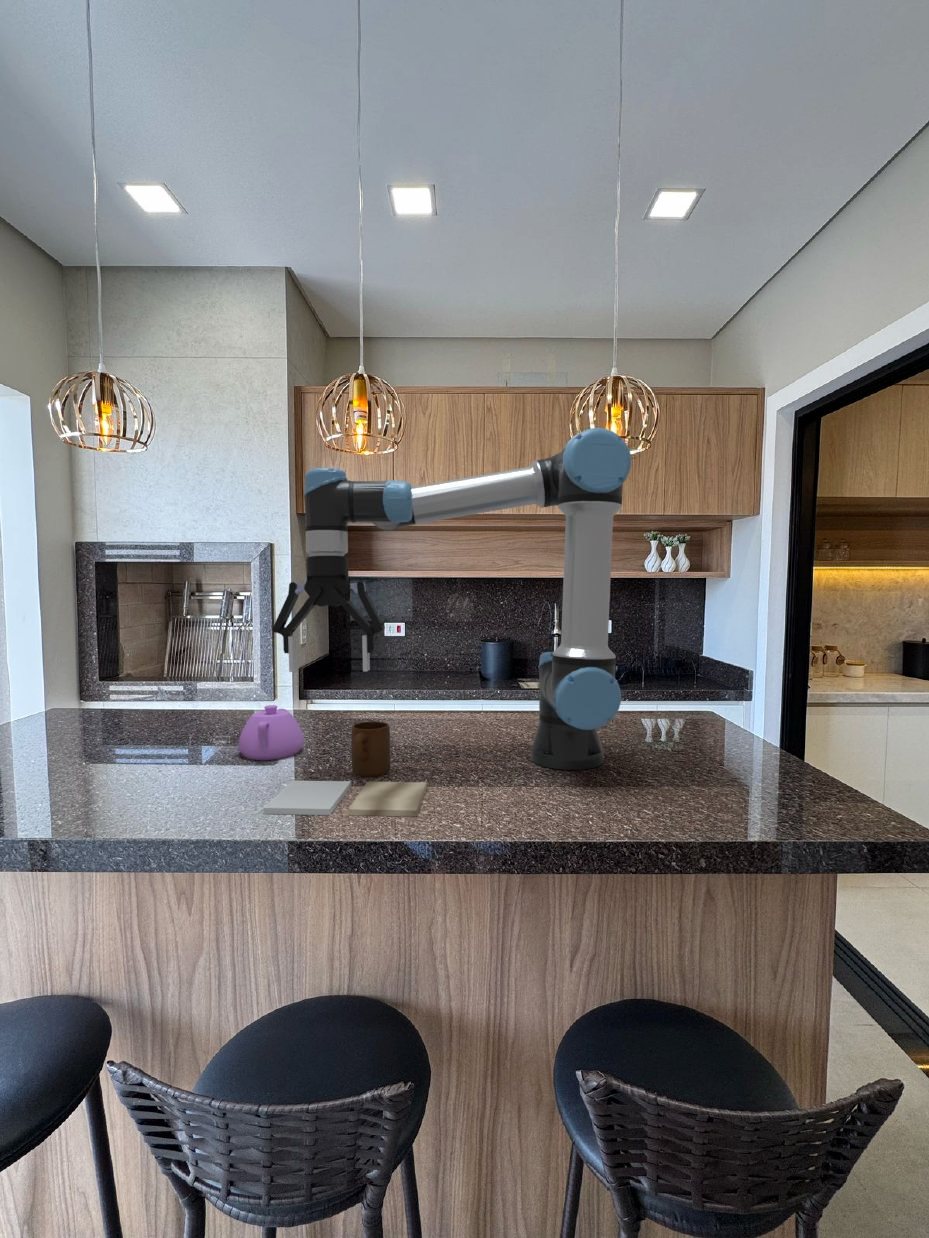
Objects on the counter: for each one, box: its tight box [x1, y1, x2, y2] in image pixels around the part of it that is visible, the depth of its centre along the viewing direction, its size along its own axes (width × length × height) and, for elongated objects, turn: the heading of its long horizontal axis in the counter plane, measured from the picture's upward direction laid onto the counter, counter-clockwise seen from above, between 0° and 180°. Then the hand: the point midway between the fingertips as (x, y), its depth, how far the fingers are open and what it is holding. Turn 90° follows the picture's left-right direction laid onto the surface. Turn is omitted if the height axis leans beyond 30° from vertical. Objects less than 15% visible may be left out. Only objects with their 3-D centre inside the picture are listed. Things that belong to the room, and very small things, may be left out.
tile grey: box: [262, 780, 352, 816], centre depth 106 cm, size 11×14×1 cm
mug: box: [350, 720, 391, 778], centre depth 119 cm, size 12×8×9 cm, turn 169°
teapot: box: [238, 704, 305, 761], centre depth 136 cm, size 14×20×11 cm
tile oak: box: [347, 781, 428, 817], centre depth 105 cm, size 11×14×1 cm
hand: (329, 670), depth 113 cm, fingers open, 13 cm apart
